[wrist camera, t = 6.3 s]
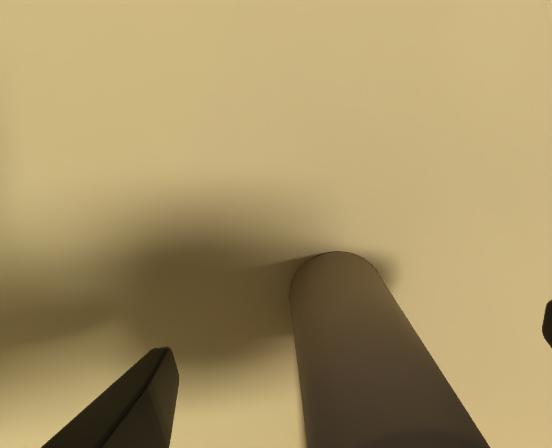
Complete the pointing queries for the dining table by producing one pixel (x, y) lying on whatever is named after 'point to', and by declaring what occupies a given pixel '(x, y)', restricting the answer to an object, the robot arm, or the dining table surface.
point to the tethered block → (368, 365)
